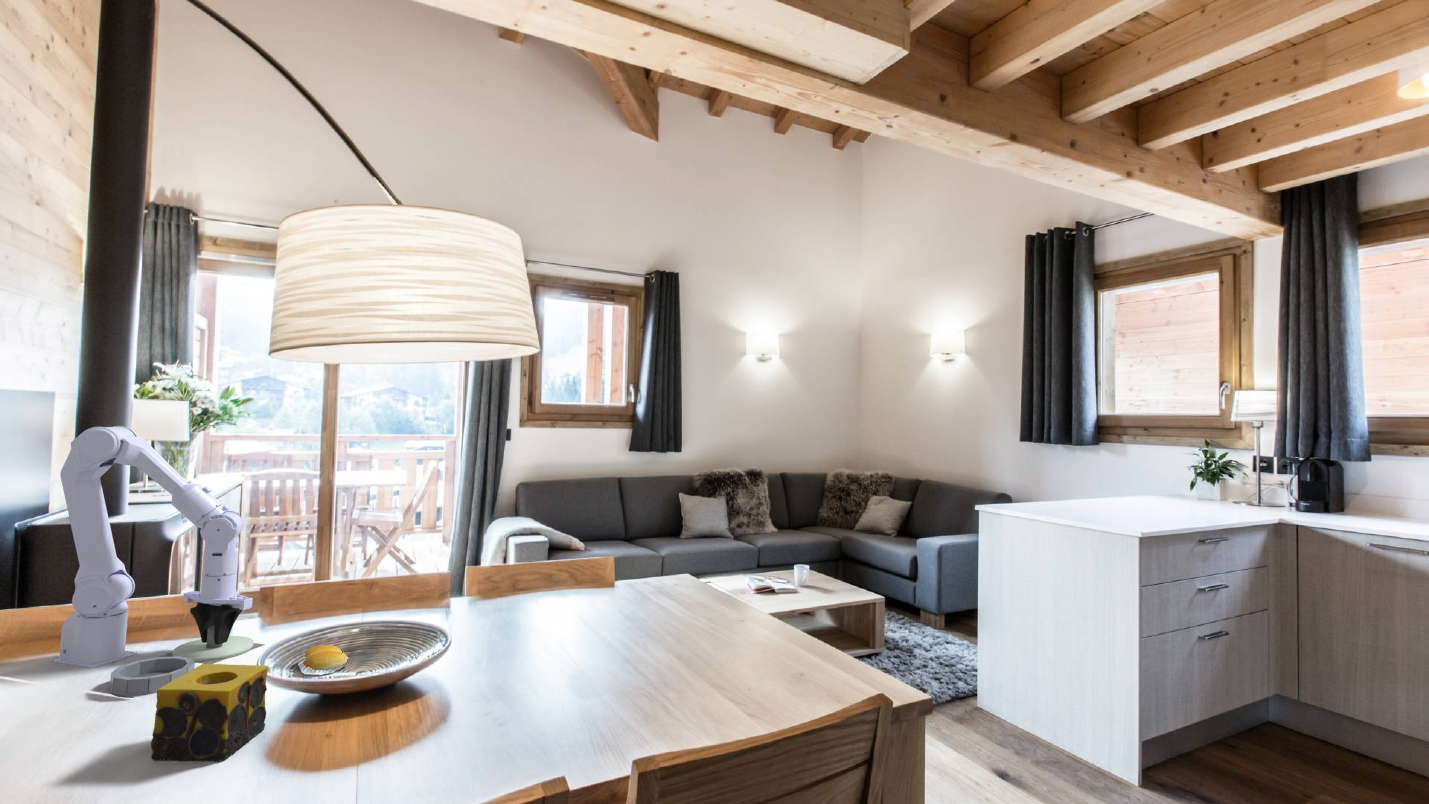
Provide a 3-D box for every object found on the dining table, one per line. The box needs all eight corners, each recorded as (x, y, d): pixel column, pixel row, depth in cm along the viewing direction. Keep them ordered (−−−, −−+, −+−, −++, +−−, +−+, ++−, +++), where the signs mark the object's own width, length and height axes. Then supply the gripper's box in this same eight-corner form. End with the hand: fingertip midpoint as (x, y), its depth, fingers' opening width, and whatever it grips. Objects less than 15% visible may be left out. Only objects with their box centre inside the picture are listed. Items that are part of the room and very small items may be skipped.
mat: (159, 658, 130) (159, 656, 130) (216, 639, 142) (216, 637, 142) (210, 666, 128) (210, 664, 128) (265, 646, 140) (265, 644, 140)
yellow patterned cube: (197, 729, 103) (202, 662, 104) (266, 729, 104) (271, 664, 105) (147, 762, 93) (152, 688, 94) (224, 763, 94) (230, 690, 94)
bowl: (93, 692, 114) (94, 674, 114) (158, 670, 125) (160, 653, 125) (145, 701, 112) (147, 682, 112) (208, 677, 122) (209, 660, 123)
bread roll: (303, 680, 124) (304, 658, 124) (294, 665, 131) (295, 644, 131) (353, 671, 129) (354, 650, 129) (341, 657, 136) (343, 637, 136)
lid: (154, 657, 130) (156, 633, 130) (217, 637, 143) (218, 615, 143) (210, 665, 127) (212, 641, 127) (269, 644, 140) (270, 622, 140)
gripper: (267, 572, 138) (262, 640, 137) (208, 566, 141) (203, 632, 140) (236, 580, 131) (231, 651, 130) (175, 573, 134) (169, 642, 133)
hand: (214, 642), depth 135 cm, fingers closed on lid, 3 cm apart
